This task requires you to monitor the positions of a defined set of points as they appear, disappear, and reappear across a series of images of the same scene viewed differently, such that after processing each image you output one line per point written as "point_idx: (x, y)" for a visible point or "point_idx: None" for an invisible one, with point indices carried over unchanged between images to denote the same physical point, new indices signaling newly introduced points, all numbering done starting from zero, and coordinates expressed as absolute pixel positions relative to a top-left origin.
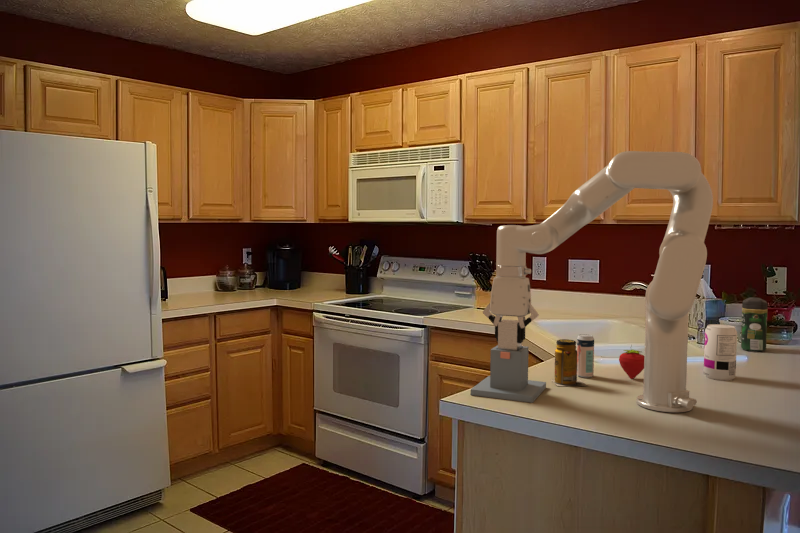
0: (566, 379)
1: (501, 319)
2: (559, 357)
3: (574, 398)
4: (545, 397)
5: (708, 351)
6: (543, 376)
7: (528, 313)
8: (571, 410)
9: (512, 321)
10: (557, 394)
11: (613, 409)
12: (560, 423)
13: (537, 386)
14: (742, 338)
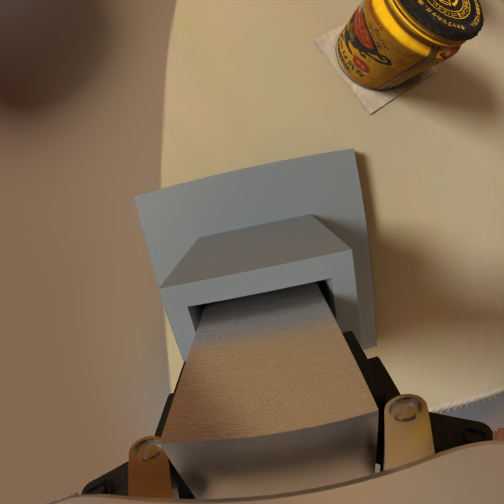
0: (397, 84)
1: (173, 479)
2: (407, 60)
3: (451, 224)
4: (387, 266)
5: None
6: (269, 13)
7: (485, 451)
8: (458, 328)
9: (306, 485)
10: (405, 211)
11: None
12: (443, 406)
13: (353, 229)
14: None
